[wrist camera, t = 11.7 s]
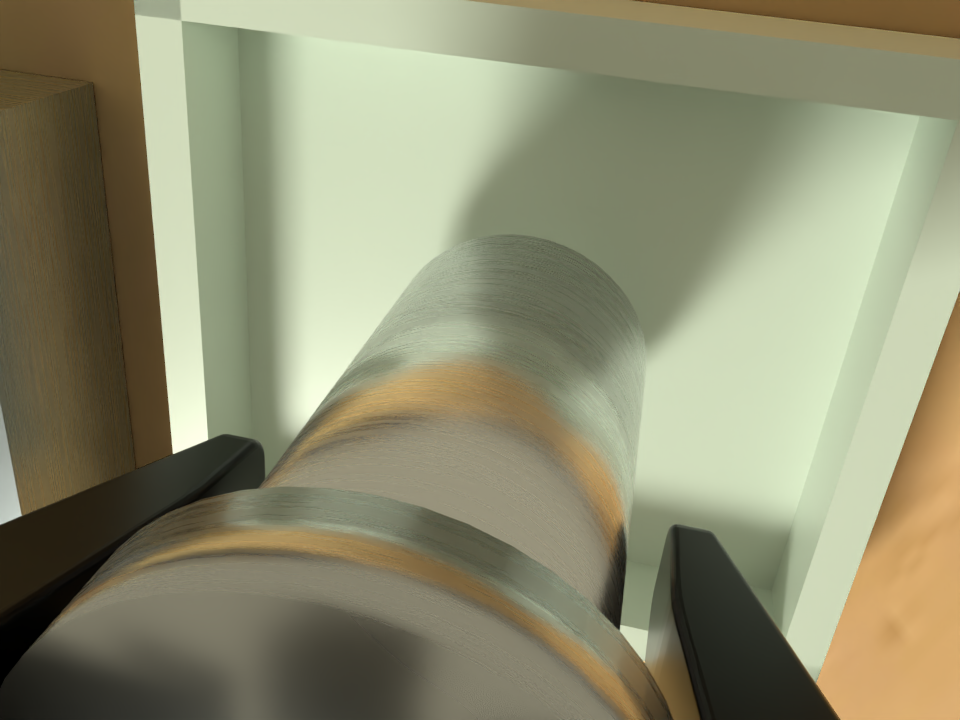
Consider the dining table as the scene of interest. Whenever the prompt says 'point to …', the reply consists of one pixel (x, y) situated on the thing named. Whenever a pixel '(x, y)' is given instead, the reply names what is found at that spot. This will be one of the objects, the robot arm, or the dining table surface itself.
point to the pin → (399, 531)
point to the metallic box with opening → (56, 300)
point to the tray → (578, 235)
